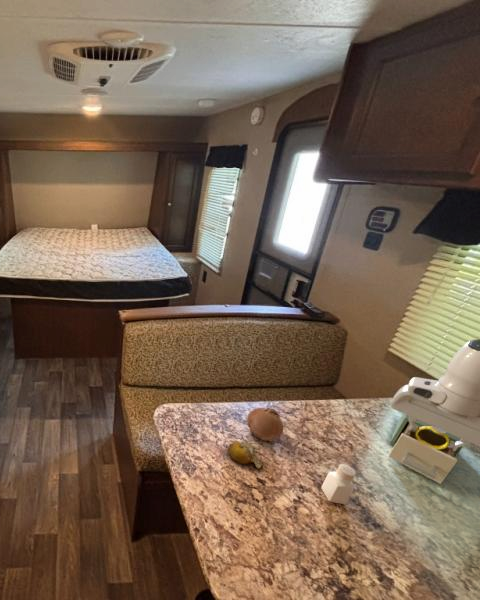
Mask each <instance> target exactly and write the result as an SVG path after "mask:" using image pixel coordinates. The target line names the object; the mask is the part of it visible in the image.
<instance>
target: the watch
mask: <svg viewBox="0 0 480 600" xmlns="http://www.w3.org/2000/svg"><path fill="white" fill-rule="evenodd" d="M425 429H429V430H432V431H434V432H435V433H437V434H440V435H443V436H444V437H445V438H446V440H447V442H446V443H445V444H444V445H441V446H433V445H431V444H429V443H427V442H425V441H423V440H421V439H420V437H419V436H418V432H419V431H421V430H425ZM416 438H417V440H418V441H420V442H422V443H424V444H427V445H429V446H431V447H433V448H435V449H437V450H440V449H444V448H447V446H448V445H449V437H448V435H447V434H446V432H445V431H443V430H440V429H438V428H436V427H434V426H422V427H419V428H418V429H417V431H416Z"/></svg>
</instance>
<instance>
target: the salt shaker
mask: <svg viewBox="0 0 480 600" xmlns="http://www.w3.org/2000/svg"><path fill="white" fill-rule="evenodd" d="M356 475H357V473H356V471H355V469H353V467H351V466H349V465H347V464H345V463H339V465H338V467H337V468H336V471H329V472H328V473H327V475H326V477H325V478H324V481H323V483H322V484H321V491H322V492H323V494H324V495H325V497H326V498H327V501H329V502H330V503H336V504H342V505H345V504H347V503H348V500H349V499H350V497H351V496H352V494H353V492H354V491H355V485H354V483H353V480H354V478H355V477H356Z"/></svg>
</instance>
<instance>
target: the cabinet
mask: <svg viewBox="0 0 480 600" xmlns="http://www.w3.org/2000/svg"><path fill="white" fill-rule="evenodd" d="M408 418H409V416H408V415H406V414H404V413H402V414H401V416H400V417H399V420H398V421H397V424H396V426H395V429H394V431H393V434H392V436H391V439H390V441H389V444H391V445H393V446H395V444H396V442H397V441H398V439H399V437H400V435H401V433H402V431H403V430H404V428H405V426H406V425H407V423H408V422H409V420H408ZM414 422H415V424H416V425H418V426H419V427H422V426H431V425H429V424H427V423H424V422H422V421H420V420H418V419H416V421H414ZM426 430H428V431H430V432H433V433H435V432H434V431H432V430H429V429H426ZM435 434H437V433H435ZM446 434H447V435H448V437H449V440H452V441H454V442H457V441H460V440H461V438H459V437H456V436H454V435H452V434H450V433H447V432H446ZM437 435H439V436H442V437H444V436H443V435H440V434H437ZM444 438H445V437H444ZM462 449H463V447H458V448H457V450H456V451H454V455H453V457H454V458H457V456H458V454H459V453H460V452H461V450H462Z"/></svg>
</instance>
